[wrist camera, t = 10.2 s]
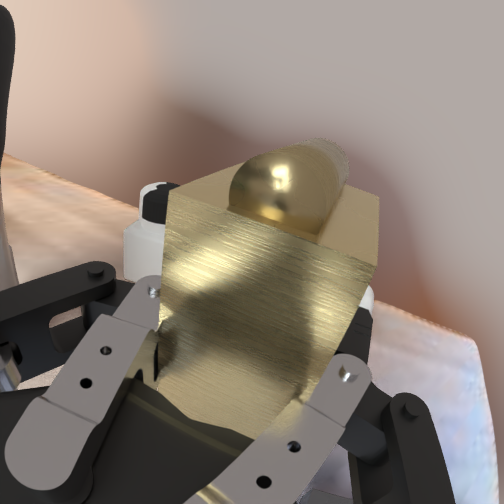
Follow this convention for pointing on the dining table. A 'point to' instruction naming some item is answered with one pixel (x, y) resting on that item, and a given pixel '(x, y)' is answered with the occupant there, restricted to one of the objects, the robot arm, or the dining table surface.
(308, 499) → the plane body
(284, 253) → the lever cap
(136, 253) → the container
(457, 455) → the dining table surface
